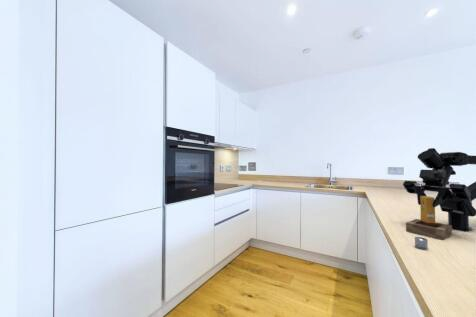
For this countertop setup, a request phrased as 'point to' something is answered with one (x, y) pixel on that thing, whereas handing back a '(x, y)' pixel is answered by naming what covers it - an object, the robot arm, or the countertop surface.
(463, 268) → the countertop surface
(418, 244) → the short metal stub
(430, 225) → the hole block
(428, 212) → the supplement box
